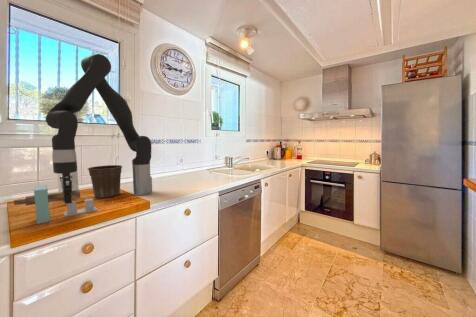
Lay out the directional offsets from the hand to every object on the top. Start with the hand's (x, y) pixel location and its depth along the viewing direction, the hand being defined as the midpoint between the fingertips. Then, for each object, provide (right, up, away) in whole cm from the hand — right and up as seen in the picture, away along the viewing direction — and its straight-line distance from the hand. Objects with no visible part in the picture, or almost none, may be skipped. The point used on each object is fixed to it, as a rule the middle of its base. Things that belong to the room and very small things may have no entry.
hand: (68, 202), depth 85 cm
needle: (-4, +1, -4) cm, 6 cm away
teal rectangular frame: (-6, -6, -5) cm, 9 cm away
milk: (-20, -3, +25) cm, 33 cm away
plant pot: (-3, -3, +30) cm, 31 cm away
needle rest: (+3, -5, +3) cm, 7 cm away
